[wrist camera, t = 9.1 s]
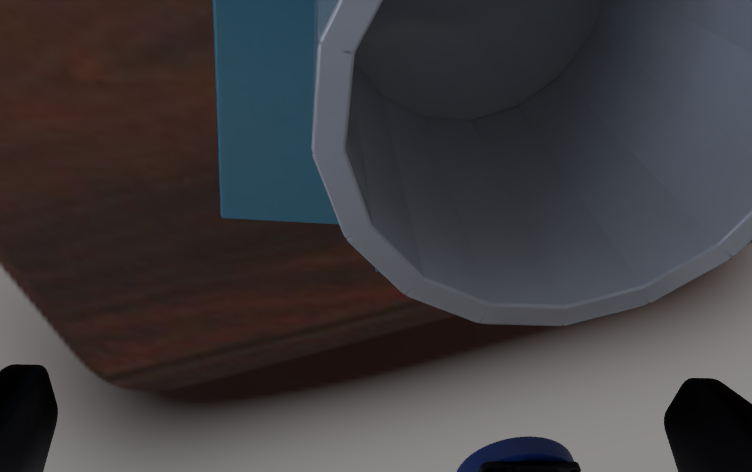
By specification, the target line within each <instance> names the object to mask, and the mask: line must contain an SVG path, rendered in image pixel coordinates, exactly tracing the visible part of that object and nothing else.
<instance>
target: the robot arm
mask: <svg viewBox="0 0 752 472" xmlns="http://www.w3.org/2000/svg"><path fill="white" fill-rule="evenodd" d="M57 415H58V408H57V403H56V399H55V396H54V392H53V389H52V385H51V382H50V379H49V375H48V372H47V370H46V369H45V368H44V367H43V366H41V365H19V364H16V365H10V366H7V367H5V368H4V369H2V370H1V371H0V472H43V470H44V466H45V463H46V459H47V456H48V452H49V448H50V444H51V441H52V438H53V434H54V430H55V427H56V422H57ZM664 426H665V431H666V434H667V437H668V440H669V444H670V447H671V450H672V453H673V456H674V459H675V462H676V466H677V469H678V472H752V404H751V403H749V402H748V401H747V400H745V399H744V398H743V397H741V396H740V395H738V394H737V393H736V392H734V391H733V390H731V389H730V388H729V387H727V386H726V385H725V384H723V383H721V382H720V381H718V380H715V379H710V378H691V379H688V380H686V381H685V382H684V383H683V384H682V386H681V387H680V389H679V391H678V393H677V394H676V396H675V397H674V399H673V401H672V403H671V404H670V406H669V407H668V409H667V411H666V413H665V417H664ZM478 472H581V469H580V466H579V464H578V463H577V462H574V461H516V462H485V463H483V464H481V466H480V468H479V471H478Z"/></svg>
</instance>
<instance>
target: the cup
mask: <svg viewBox="0 0 752 472" xmlns="http://www.w3.org/2000/svg"><path fill="white" fill-rule="evenodd" d="M311 150H312V157H313V159H314V162H315V164H316V167H317V170H318V172H319V175H320V177H321V180H322V182H323V185H324V187H325V190H326V192H327V195H328V198H329V200H330V203H331V205H332V208H333V210H334V213H335V215H336V218H337V220H338V223H339V226H340V228H341V231H342V233H343V235H344V237H345V238H346V239H347V241H348V242H349V243H350V244H351V245H352V246H353V247H354V248H355V249H356V250H357V251H359V252H360V253H361V254H362V255H363V256H364V257H365V258H366V259H367V260H368V261H369V262H370V263H371V264H372V265H373V266H374V267H375V268H376V269H378V270H379V271H380V272H381V273H382V274H383V275H384V276H385V277H386V278H387V279H388V280H389V281H390V282H391V283H392V284H393V285H394V286H395V287H397V288H398V289H399V290H400V291H401V292H402V293H403V294H406V296H408V297H410V298H413V299H415V300H418V301H421V302H423V303H426V304H429V305H431V306H434V307H437V308H439V309H442V310H444V311H447V312H450V313H452V314H455V315H458V316H460V317H463V318H466V319H468V320H471V321H474V322H477V323H479V322H480V323H482V324H503V325H537V326H562V325H569V324H573V323H577V322H581V321H585V320H589V319H593V318H597V317H601V316H605V315H609V314H613V313H616V312H620V311H624V310H628V309H632V308H636V307H640V306H643V305H646V304H647V303H648V302H649V303H652V302H653V301H655V300H657V299H659V298H661V297H663V296H664V295H666V294H668V293H670V292H672V291H674V290H675V289H677V288H679V287H681V286H682V285H684V284H686V283H688V282H690V281H692V280H694V279H695V278H697V277H699V276H701V275H703V274H704V273H706V272H708V271H710V270H712V269H714V268H715V267H717V266H719V265H721V264H722V263H724V262H726V261H728V260H730V259H731V256H735V255H736V254H738V253H739V252H740V251H741V250H742V249H743V248H744V247H745V246H746V245H747V244H748V243H749V242H750V241H752V0H314V36H313V86H312V135H311Z"/></svg>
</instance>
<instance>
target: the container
mask: <svg viewBox="0 0 752 472" xmlns="http://www.w3.org/2000/svg"><path fill="white" fill-rule="evenodd" d="M213 26H214V52H215V79H216V105H217V131H218V158H219V184H220V210H221V217H222V218H230V219H249V220H268V221H287V222H306V223H325V224H339V223H338V220H337V218H336V215H335V213H334V210H333V208H332V205H331V203H330V200H329V198H328V195H327V192H326V190H325V187H324V185H323V182H322V180H321V177H320V175H319V172H318V170H317V167H316V164H315V162H314V159H313V157H312V150H311V135H312V86H313V36H314V0H213ZM375 270H376V271H377V272H380V271H379V270H378V269H376V268H375Z"/></svg>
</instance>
